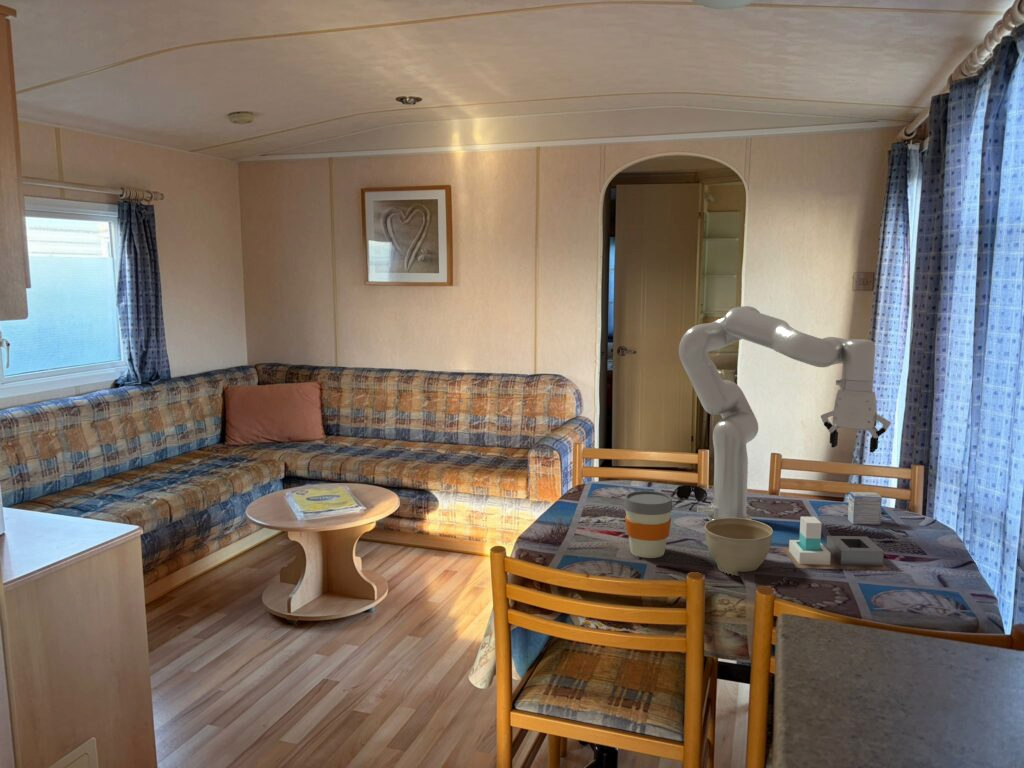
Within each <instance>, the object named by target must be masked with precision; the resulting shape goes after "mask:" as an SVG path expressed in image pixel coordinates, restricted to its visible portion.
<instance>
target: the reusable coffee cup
mask: <svg viewBox="0 0 1024 768" xmlns="http://www.w3.org/2000/svg"><path fill="white" fill-rule="evenodd" d="M670 496H671V495H669V494H667V493H664V492H661V491H653V490H637V491H631V492H629V493H627V494H625V495H624V504H623V505H624V506H623V508H624V509H625V514H626V515H625V516H624V519H625V520H624V521H625V529H626V534H627V536H628V542H629V549H630V552H631V554H632V555H633V556H636V557H639V558H644V559H656V558H660V557H663V556H664V555H665V551H666V546H667V538H668V537H669V536H670V529H671V525H672V524H671V523H672V522H671V521H672V518H671V512H672V511H673V507H672V506H673V501H672V497H670Z"/></svg>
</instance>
